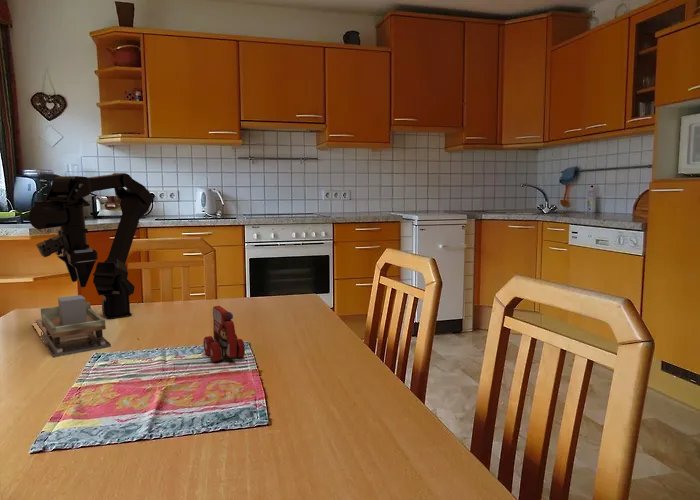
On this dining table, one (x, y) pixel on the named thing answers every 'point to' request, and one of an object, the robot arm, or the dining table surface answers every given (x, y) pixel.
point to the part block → (72, 310)
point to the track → (73, 342)
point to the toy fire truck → (223, 337)
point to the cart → (58, 330)
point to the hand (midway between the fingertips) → (78, 284)
